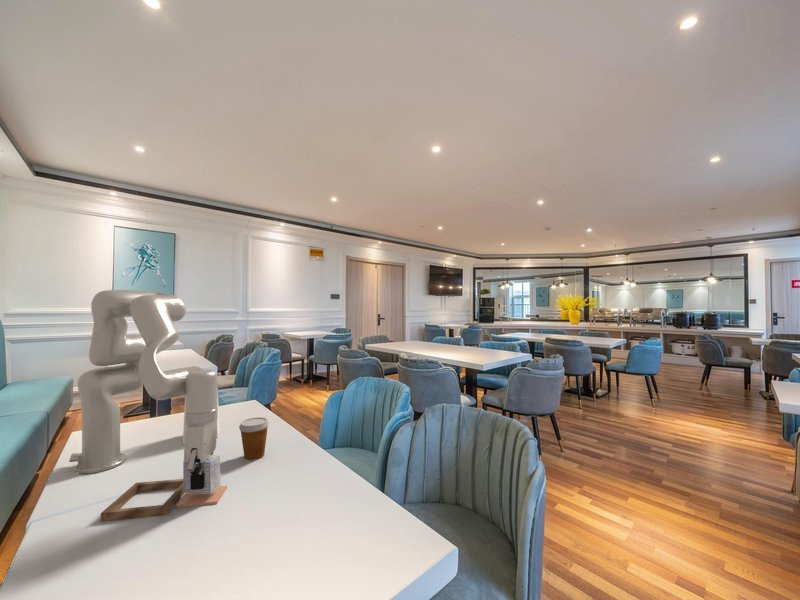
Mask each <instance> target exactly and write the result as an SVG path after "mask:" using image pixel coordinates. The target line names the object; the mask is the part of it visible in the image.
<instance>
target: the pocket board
mask: <svg viewBox="0 0 800 600" xmlns="http://www.w3.org/2000/svg"><path fill="white" fill-rule="evenodd" d="M175 489H176V490H175ZM163 490H165V491H166V490H175V491H174V492H173V493H172V494H171V496H170V497H168V499H166V501H165V502H164V503H163V504H158V505H147V506H146V505H145V506H136V507H128V508H127V507H126V508H124V507H123V506H124V505H125V504H126V503H128V502H129V501H130V500H131V499H132V498H133V497H134V496H135V495H137V494H138V493H140V492H150V491H163ZM184 494H185V493H184V492H183V478H177V479H176V478H175V479H166V480H165V479H163V480H155V481H152V480H151V481H143V482H142V481H140V482H135V483H134V484H132V486H131V487H129V488H128V489H127V490H126V491H125V492H124V493H122V494H121V495H120V496H119V497H118V498H117V499H116V500H115V501H113V502H112V503H110V504H109V506H107V508H105V509H104V510H102V512H100V522H109V521H119V520H120V521H121V520H131V519H141V518H142V519H143V518H152V517H162V516H167V515H168V513H169V512H170V511H171V510H172V509H173V508H174V507H175V506H176V504H177V503H178V502H179V500H180V499H181V498H182V497H183V496H184Z"/></svg>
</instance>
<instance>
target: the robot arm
mask: <svg viewBox="0 0 800 600" xmlns="http://www.w3.org/2000/svg"><path fill="white" fill-rule="evenodd" d="M90 307H91V308H90V309H91V310H90V311H91V314H92V321H93V328H92V334H91V338H90V339H91V340H90V345H89V352H88V356H89V357H88V358H89V361H90V363H91V364H92V365H93V366H97V367H99V368H95V369H89V370H87V371H84V372H83V373H82V374H81V375H80V376H79V378H78V380H77V390H78V394H79V400H80V405H81V452H74V453H73V452H72V453H71V455H70V457H69V459H68V461H69V463H73V462H74V463H75V462H77V465H76V466H75V470H76V471H75V472H76V473H77V472H78V474H81V473H88V474H95V472H96V473H100V471H101V472H105V471H107V470H110V469H114V468H116V467H118V466H121V465H122V464H123V463H125V461H126V460H127V455H126V453H125V454H124V453H121V407H120V405H119V404H118V403H117V402H116V401H115V400H114V399H113V397H112V396H116V395H120V394H124V393H130V392H133V391H136V390H138V389H140V388H141V387H142V386H143V387H144V388H145V390H146V393H147V395H149V397H150V398H152V399H153V400H156V401H166V400H169V399H173V398H177V397H181V396H185V395H186V425H187V429H186V435H185V445H183V446H184V448H183V451H184V452H183V462H184V464H188V463H189V464H188V470H189V471H190V489H191V490H197V489H203V488H204V473H203V466H204V462H205V461H206V460H207V459H208V457H209V456H210V455H214V452H215V450H216V448H217V440H216V423H215V422H216V421H217V420H218V409H219V389H218V383H219V382H218V373H217V371H216V370H214V369H204V368H202V367H199V366H195V365H194V366H186V367H180V368H174V369H167V370H163V371H162V370H161V368H160V366H159V364H158V361H157V355H158V354H159V353H161V352H163V351H164V350H167V349H168V348H170V347H172V346H173V345H174V344H175V343H176V342H177V341H178V340H179V337H180V334H179V332H178V330H177V327H176V326H175V323H174V322H179V321H181V320H182V319H183V318H184V317H185V315H186V304H185V302H184V301H183V300H182V299H181V298H180V297H178V296H177V295H174V294H169V293H166V292H161V291H156V290H133V289H108V290H107V289H106V290H102V291H101V290H100V291H99V292H97V293H96V294H94V296H93V297H92V300H91V304H90ZM129 317H130V318H131V317H132V320H133V322H134V324H135V326H136V327H137V329H138V330H137V331H138V333H139V334H134V333H133V334H127V332H128V322H127V320H126V318H129ZM198 459H200V462H196V460H198ZM197 464H200V468H198V467H196V465H197Z"/></svg>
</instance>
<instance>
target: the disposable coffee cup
mask: <svg viewBox="0 0 800 600" xmlns="http://www.w3.org/2000/svg"><path fill="white" fill-rule="evenodd" d="M269 425H270V422H269V420H268V418H266V417H258V416H257V417H251V418H246V419H244V420H242V421H241V422H240V423H239V426H238V428H239V431H240V436H241V441H242V449H243V456H244V457H243V458H244V460H245V461H256V460H259V459H262V458H263V457H264V456H265V452H266V451H265V450H266V444H267V436H268V435H267V433H268V428H269Z"/></svg>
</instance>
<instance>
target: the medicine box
mask: <svg viewBox="0 0 800 600" xmlns="http://www.w3.org/2000/svg"><path fill="white" fill-rule="evenodd" d="M196 462H200V459H198V460H196ZM182 464H183V465H182V467H183V468H182V475H183V477H182V479H183V492H184V494H185V493H204V494H211V493H212V492H214V491H215V490H216V489H217V488H218V487H219V486H221V456H220V454H213V455H210V456H209V457H208V459H207V460H206V461H205V462H204V466H203V473H204V488H203V489H197V490H191V489H190V471H189V470H188V464H189V463H188V464H184V461H183V463H182ZM196 467H198V468H200V464H197V465H196Z"/></svg>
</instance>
